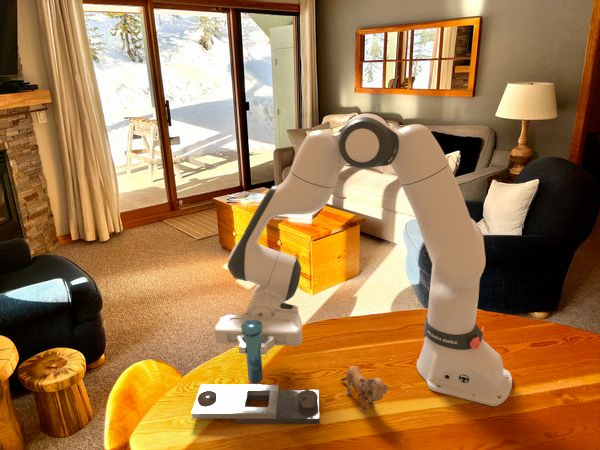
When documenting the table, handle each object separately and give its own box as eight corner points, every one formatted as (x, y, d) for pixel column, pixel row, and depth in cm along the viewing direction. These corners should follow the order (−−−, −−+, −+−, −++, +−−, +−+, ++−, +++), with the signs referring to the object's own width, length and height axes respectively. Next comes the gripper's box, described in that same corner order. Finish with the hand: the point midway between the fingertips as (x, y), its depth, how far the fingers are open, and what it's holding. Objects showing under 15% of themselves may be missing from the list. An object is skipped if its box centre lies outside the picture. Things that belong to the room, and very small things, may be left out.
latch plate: (318, 394, 110) (318, 383, 108) (319, 423, 101) (319, 411, 100) (202, 395, 111) (200, 383, 109) (193, 423, 102) (191, 411, 101)
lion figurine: (390, 412, 104) (392, 380, 101) (373, 422, 101) (374, 390, 98) (348, 377, 115) (349, 347, 112) (332, 385, 113) (332, 355, 109)
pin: (269, 376, 103) (266, 323, 98) (256, 388, 100) (252, 333, 95) (254, 369, 106) (250, 317, 101) (241, 380, 102) (237, 327, 97)
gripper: (220, 303, 112) (204, 337, 99) (304, 306, 110) (298, 340, 97) (222, 326, 114) (207, 361, 101) (304, 328, 112) (299, 365, 99)
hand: (252, 351), depth 99 cm, fingers closed on pin, 3 cm apart
